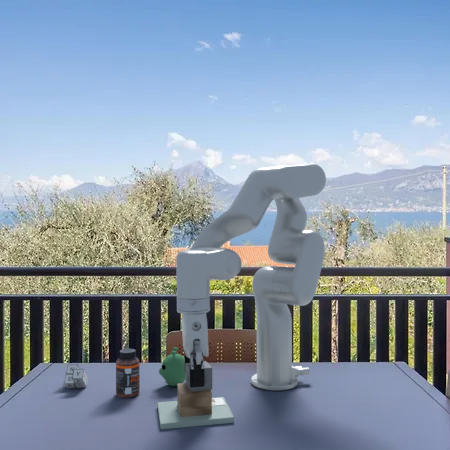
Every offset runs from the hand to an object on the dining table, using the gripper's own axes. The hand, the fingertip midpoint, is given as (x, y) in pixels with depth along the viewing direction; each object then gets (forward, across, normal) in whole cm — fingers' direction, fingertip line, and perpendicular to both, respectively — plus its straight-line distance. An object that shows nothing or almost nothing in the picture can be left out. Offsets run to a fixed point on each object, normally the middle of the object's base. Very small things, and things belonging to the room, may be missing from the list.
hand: (194, 379), depth 109 cm
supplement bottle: (+8, +16, +15) cm, 23 cm away
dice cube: (+2, 0, -1) cm, 2 cm away
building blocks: (+8, +25, +28) cm, 39 cm away
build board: (+8, 0, 0) cm, 8 cm away
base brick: (+7, 0, 0) cm, 7 cm away
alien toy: (+8, +20, +3) cm, 22 cm away
